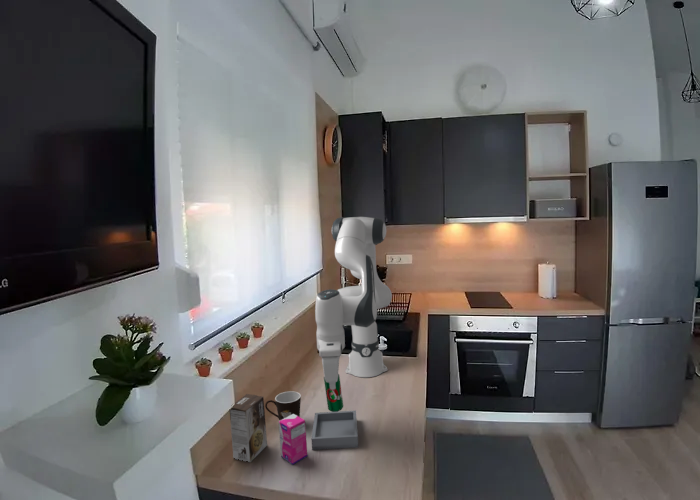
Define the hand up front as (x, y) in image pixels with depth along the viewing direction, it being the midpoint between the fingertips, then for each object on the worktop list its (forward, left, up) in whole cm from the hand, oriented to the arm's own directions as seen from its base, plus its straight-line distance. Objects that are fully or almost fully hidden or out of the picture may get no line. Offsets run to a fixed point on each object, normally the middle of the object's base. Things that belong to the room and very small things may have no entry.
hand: (333, 384), depth 127 cm
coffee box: (+7, -26, -17) cm, 32 cm away
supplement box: (+11, -12, -17) cm, 24 cm away
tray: (0, 0, -17) cm, 17 cm away
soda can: (0, 0, -8) cm, 8 cm away
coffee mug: (-8, -17, -17) cm, 25 cm away
